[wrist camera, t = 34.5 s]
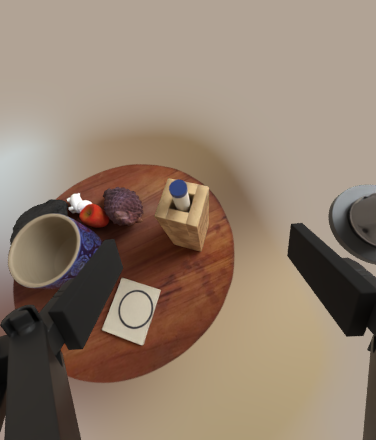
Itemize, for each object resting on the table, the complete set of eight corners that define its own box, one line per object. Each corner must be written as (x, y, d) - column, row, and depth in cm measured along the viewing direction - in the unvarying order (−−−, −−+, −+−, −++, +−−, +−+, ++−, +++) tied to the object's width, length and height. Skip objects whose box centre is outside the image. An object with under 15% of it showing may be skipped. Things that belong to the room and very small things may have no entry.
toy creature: (68, 213, 57) (90, 206, 58) (64, 192, 60) (85, 185, 62) (76, 220, 61) (96, 213, 63) (71, 200, 65) (91, 194, 66)
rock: (80, 203, 64) (63, 186, 59) (78, 228, 53) (57, 210, 49) (37, 229, 63) (16, 213, 59) (27, 259, 53) (0, 243, 48)
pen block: (208, 225, 57) (208, 186, 37) (201, 251, 55) (197, 226, 34) (182, 218, 59) (168, 178, 38) (173, 244, 56) (154, 216, 36)
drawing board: (161, 290, 52) (160, 290, 51) (143, 344, 49) (142, 345, 47) (123, 277, 54) (121, 277, 53) (103, 329, 51) (101, 330, 49)
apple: (97, 235, 59) (77, 226, 53) (94, 219, 62) (75, 208, 56) (115, 225, 58) (96, 215, 52) (111, 209, 62) (94, 197, 55)
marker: (194, 212, 44) (189, 181, 32) (190, 224, 43) (184, 197, 31) (182, 209, 44) (172, 177, 32) (178, 221, 44) (166, 193, 31)
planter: (88, 220, 61) (53, 199, 47) (123, 255, 56) (95, 243, 42) (44, 262, 58) (-7, 252, 44) (78, 303, 53) (32, 307, 39)
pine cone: (95, 209, 62) (89, 180, 56) (125, 200, 68) (122, 173, 62) (122, 243, 53) (118, 212, 46) (154, 229, 58) (155, 200, 52)
